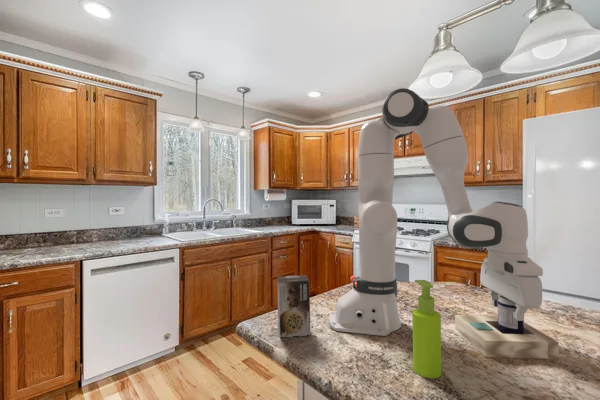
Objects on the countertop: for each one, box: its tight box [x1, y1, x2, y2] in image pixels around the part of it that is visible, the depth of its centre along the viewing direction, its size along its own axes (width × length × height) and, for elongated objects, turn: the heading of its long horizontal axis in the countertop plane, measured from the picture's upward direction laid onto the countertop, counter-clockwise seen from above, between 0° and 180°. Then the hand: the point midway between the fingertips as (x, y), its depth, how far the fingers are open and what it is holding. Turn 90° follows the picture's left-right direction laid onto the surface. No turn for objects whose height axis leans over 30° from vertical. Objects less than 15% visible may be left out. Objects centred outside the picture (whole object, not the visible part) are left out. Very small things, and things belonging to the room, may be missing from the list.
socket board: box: [454, 314, 560, 360], centre depth 78 cm, size 17×16×4 cm
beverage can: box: [497, 295, 525, 334], centre depth 78 cm, size 6×6×12 cm
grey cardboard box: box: [276, 274, 312, 338], centre depth 85 cm, size 9×6×16 cm
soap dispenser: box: [412, 279, 442, 379], centre depth 66 cm, size 6×7×20 cm
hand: (506, 312), depth 78 cm, fingers open, 8 cm apart
